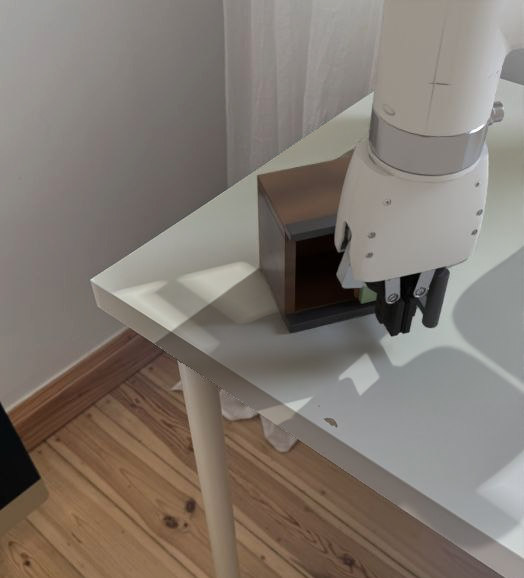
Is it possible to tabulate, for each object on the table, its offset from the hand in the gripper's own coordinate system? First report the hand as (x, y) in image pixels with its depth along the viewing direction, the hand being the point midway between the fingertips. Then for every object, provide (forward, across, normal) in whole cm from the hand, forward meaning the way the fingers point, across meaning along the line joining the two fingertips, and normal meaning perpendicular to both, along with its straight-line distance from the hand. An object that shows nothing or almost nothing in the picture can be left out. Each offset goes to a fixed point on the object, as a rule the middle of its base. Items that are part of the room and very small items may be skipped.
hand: (392, 323), depth 62 cm
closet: (+4, 0, -11) cm, 11 cm away
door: (+3, -3, -3) cm, 5 cm away
